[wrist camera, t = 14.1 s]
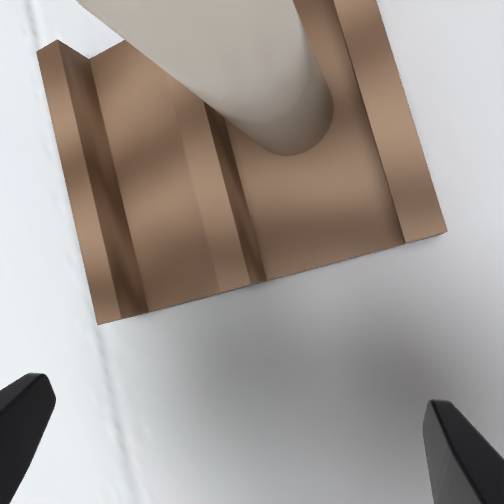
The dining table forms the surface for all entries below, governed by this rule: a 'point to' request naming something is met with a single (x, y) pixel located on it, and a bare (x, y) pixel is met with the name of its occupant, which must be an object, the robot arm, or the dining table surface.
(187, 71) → the rounded tapered clay block
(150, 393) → the dining table surface
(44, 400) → the robot arm
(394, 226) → the wooden compartment tray
